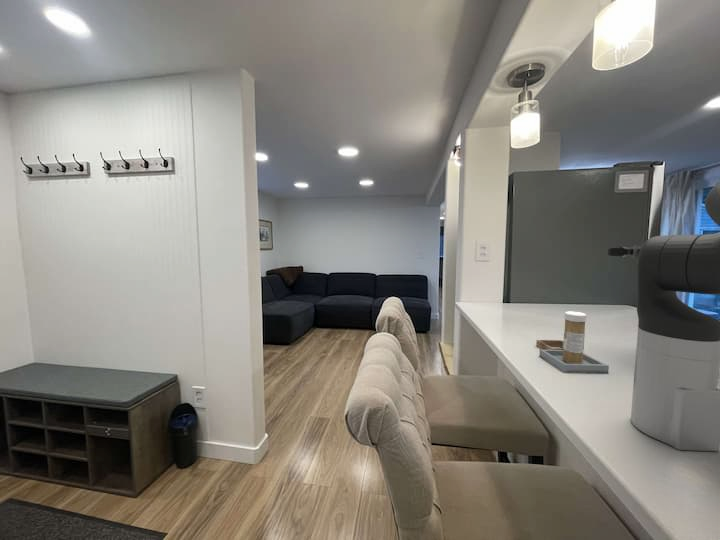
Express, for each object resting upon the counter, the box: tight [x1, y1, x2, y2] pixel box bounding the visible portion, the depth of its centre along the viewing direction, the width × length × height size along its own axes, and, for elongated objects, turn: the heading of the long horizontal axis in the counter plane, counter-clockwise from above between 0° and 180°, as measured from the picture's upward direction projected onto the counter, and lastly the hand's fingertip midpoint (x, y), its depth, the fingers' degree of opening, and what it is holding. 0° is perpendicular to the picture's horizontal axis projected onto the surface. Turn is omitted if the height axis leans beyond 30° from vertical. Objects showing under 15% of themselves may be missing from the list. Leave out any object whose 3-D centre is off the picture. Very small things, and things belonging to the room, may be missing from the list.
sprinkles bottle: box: [562, 310, 587, 364], centre depth 75 cm, size 5×5×14 cm
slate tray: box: [539, 349, 610, 374], centre depth 76 cm, size 11×11×2 cm
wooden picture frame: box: [535, 339, 564, 350], centre depth 85 cm, size 8×8×2 cm
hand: (622, 252), depth 73 cm, fingers open, 8 cm apart
